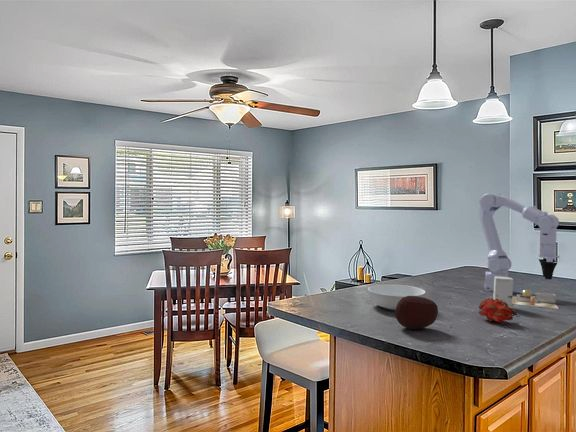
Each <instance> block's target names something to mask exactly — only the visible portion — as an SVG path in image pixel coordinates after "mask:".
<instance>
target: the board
mask: <svg viewBox="0 0 576 432" xmlns="http://www.w3.org/2000/svg"><path fill="white" fill-rule="evenodd" d="M512 305H517V306H518V305H519V306H527V307H528V306H529V307H539V308H548V309H556V310H557V309H559V307H558V305H557V303H547V302H537V303H536V302H535V305H531V302H526V301H517V298H516V296H514V295H513V296H512Z"/></svg>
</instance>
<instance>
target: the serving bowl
mask: <svg viewBox="0 0 576 432" xmlns="http://www.w3.org/2000/svg"><path fill="white" fill-rule="evenodd" d="M367 293H368V297H369V299H370V300H371V301H372V302H373V303H374V304H375V305H376V306H378V307H381V308H384V309H387V310H389V311H396V306H397V304H398V302H399V301H400V300H401V299H402V298H403V297H406V296H418V297H423V298H426V293H427V292H426V290H424V288H420V287H417V286H412V285H406V284H405V285H404V284H389V283H387V284H386V283H385V284H375V285H371V286H368V288H367Z"/></svg>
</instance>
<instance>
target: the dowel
mask: <svg viewBox="0 0 576 432" xmlns="http://www.w3.org/2000/svg"><path fill="white" fill-rule="evenodd" d="M531 305H535V297H531Z"/></svg>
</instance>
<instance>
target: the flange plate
mask: <svg viewBox="0 0 576 432" xmlns="http://www.w3.org/2000/svg"><path fill="white" fill-rule="evenodd" d="M531 297H535V302H536V303H537V302H547V303H556V302H557V295H556V294H555V293H542V292H534V295H531ZM516 298H517V301H526V302H531V298H522V294H519V293H518V294H516ZM556 304H557V303H556Z"/></svg>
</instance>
